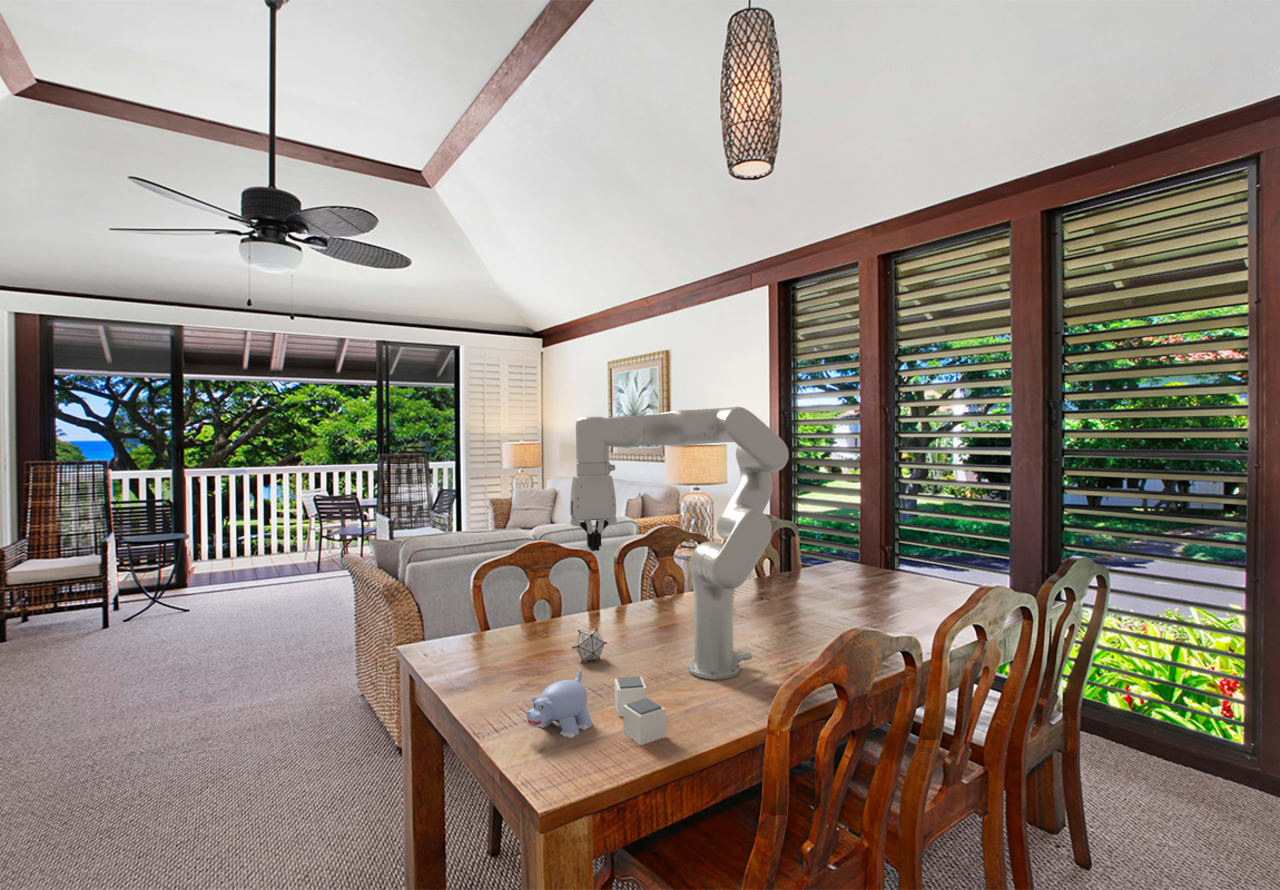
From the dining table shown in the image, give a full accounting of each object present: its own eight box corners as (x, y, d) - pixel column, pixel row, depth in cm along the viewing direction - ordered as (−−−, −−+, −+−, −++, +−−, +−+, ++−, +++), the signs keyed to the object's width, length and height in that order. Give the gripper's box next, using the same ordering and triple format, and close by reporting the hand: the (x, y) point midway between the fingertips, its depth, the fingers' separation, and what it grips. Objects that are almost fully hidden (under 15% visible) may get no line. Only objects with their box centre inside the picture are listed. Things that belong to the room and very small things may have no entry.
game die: (594, 676, 160) (600, 653, 154) (565, 663, 162) (569, 640, 156) (608, 650, 167) (614, 627, 162) (579, 637, 169) (584, 614, 163)
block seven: (648, 725, 125) (648, 695, 125) (666, 737, 120) (665, 706, 120) (623, 733, 122) (622, 703, 122) (640, 746, 117) (639, 714, 117)
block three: (642, 702, 136) (641, 675, 136) (646, 714, 130) (646, 685, 130) (614, 704, 135) (614, 677, 135) (618, 716, 129) (617, 688, 129)
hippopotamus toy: (511, 735, 122) (510, 687, 122) (563, 707, 134) (562, 663, 134) (551, 751, 116) (551, 700, 115) (602, 720, 128) (601, 674, 128)
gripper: (619, 468, 149) (620, 545, 149) (557, 470, 144) (558, 549, 144) (628, 470, 142) (630, 550, 142) (564, 472, 137) (565, 555, 137)
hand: (594, 549), depth 143 cm, fingers closed
